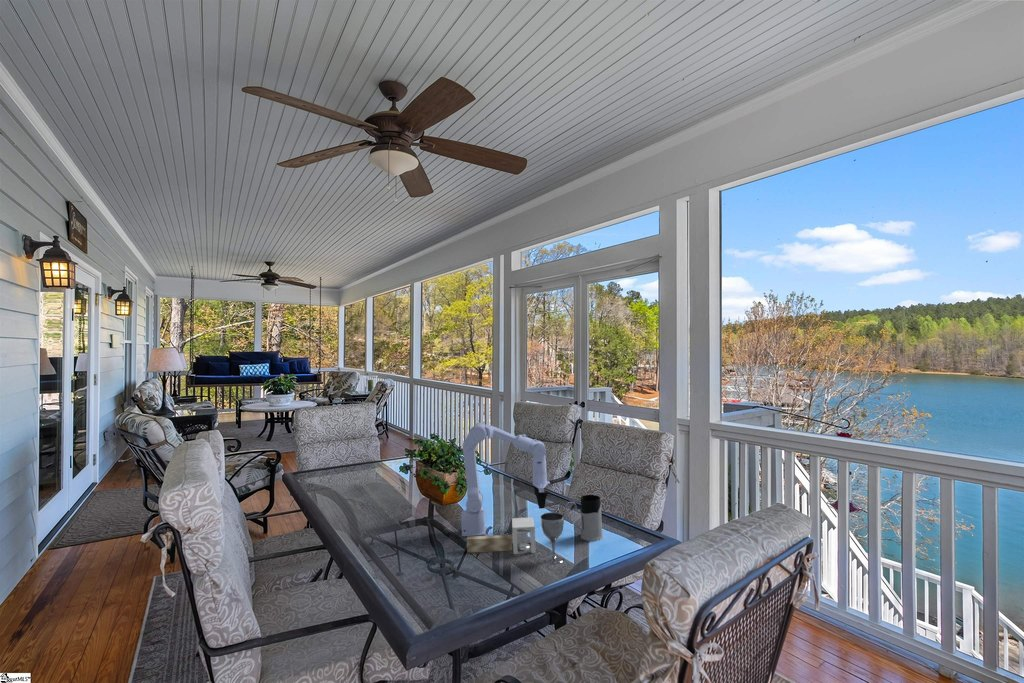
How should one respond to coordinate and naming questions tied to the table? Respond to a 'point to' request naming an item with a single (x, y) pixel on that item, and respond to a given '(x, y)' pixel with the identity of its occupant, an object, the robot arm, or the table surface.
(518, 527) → the small white stool
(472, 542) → the push stick
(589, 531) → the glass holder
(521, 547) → the steel disc
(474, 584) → the table surface
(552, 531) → the wine glass
